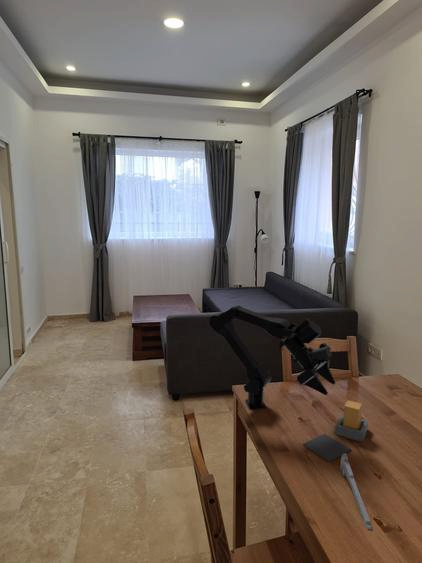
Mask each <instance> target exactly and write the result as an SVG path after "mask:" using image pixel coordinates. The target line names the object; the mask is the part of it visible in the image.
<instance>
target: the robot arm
mask: <svg viewBox="0 0 422 563" xmlns="http://www.w3.org/2000/svg"><path fill="white" fill-rule="evenodd" d="M235 319H237V320H240V321H243V322H244V323H245V322H246V323H248V324H250V325H252V326H255V327H258V328H261V329H262V330H264V331H265V333H267V334H268V335H270V336H272V337H273V338H275V339H278V340H279V341H278V342H279V343H278V344H279V345H278V349H282V348H284V347H285V348H286V350H288V351H289V353H290V354H291V355H292V357H293V362H294V363H298V364H299V365H300V366H301V368H302V369H301V372H300V373H299V374H298V375H297V376H296V381H297V382H298V384H299V385H300V386H306V387H308V388H311V389H313V390H315V391H317V392H319V393H321V394H323V395H325V396H327V395H328V394H329V392H328V391H327V389H326V388H325V386H324V383H322V381H321V380H320V377H322V378H323V379H325V381H327V382H329V383H330V384H331V385H335V384H336V380H335V379H334V376H333V374H332V371H331V368H330V358H331V356H333V354H332V352H331V350H332V349H331V347H330V346H329V345H328V344H327V343H326V342H323V343H320V344H319V347H317V348H316V349H313V347H311V346H309V347H308V346H307V345H309V344H311V343H312V342H313V341H315V340H316V339H317V338H319V336H321V335H322V334H323V331H322V329H321V327H320V326H319V324H317V323H316V322H314V321H313V320H311V319H310V318H306V319H305V320H303V321H302V323H301V324H300V325H299V324H296V323H293V322H290V321H289V320H288V319H285V318H280V317H270V316H267V315H263V314H261V313H258V312H255V311H253V310H250V309H248V308H245V307H242V306H241V305H238V304H237V305H234V306H232V307H230V308H229V309H227V310H226V311H221V312H218V313H216V314H213V315H211V316H210V317H209V322H208V325H209V327H210V328H211V330H213V332H214V333H215V334H217V335H219V336H220V337H222V338H223V339H224V340H225V342H226V343H227V344H228V346H229V348H231V350H232V352H233V353H234V355H235V356H236V357H237V359H238V361H240V363H241V364H242V366H243V367H244V369H245V372H246V377H247V380H248V382H247V383H246V384H244V385H243V389H244V391H245V392H246V393H247V399H245V401H246V402H245V403H246V405H247V407H248V409H262V408H264V409H265V408H267V405H266V404H265V402H264V388H265V387H266V386H267V385H268V384H269V383H270V382H271V380H272V373H271V370H270V369H269V368H268V367H267V365H266V363H265V362H262V363H260V362H258V361H257V360H256V359H255V357H254V356H253V355H252V353H251V351H249V349H248V348H247V345H245V344H244V342H243V341H242V339H241V338H240V336H239V335H238V333H237V332H236V331H235V329H234V323H233V320H235ZM293 334H294V335H293Z"/></svg>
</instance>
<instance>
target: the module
mask: <svg viewBox="0 0 422 563" xmlns="http://www.w3.org/2000/svg"><path fill="white" fill-rule="evenodd" d="M362 405H363V404H362V403H360V402H356V401H352V400H349V399H348V400H346V402H345V403H344V405H343V406H344V408H343V414H344V420H343V426H345V427H349V428H352V429H356V430H359V431H361V429H360V426H361V419H362V409H363V406H362Z"/></svg>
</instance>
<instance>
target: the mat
mask: <svg viewBox="0 0 422 563" xmlns="http://www.w3.org/2000/svg"><path fill="white" fill-rule="evenodd" d="M302 446H303V447H305V448H306V449H308V450H309V451H311V452H313V453H314V454H315V455H317V456H319V457H320V458H321V459H323V460H325V461H326V462H328V463H332V462H333V461H335V460H336V459H339V458H340V457H342V455H343V454H347V453H350V452H351V451H352V448H350V447H349V446H347V445H345V444H343V443H342V442H340V441H338V440H336V439H335V438H333V437H331V436H330V435H328V434H326V433H322V434H321V435H318V436H317V437H315V438H313V439H310V440H308V441H306V442H304V443H302Z"/></svg>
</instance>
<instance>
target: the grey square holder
mask: <svg viewBox="0 0 422 563" xmlns="http://www.w3.org/2000/svg"><path fill="white" fill-rule="evenodd" d="M343 420H344V413H341V415H340V416H339V418H338V420H337V421H336V423H335V425H334V426H335V428H334V435H337V436H341V437H343V438H346V439H347V438H348V439H351V440H353V441H357V442H361V443H363V442H364V440H365V437H366V435H367V432H368V429H369V420H366V419H362V418H361V426H360V431H359V430H356V429H352V428H349V427H345V426H343Z"/></svg>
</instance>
